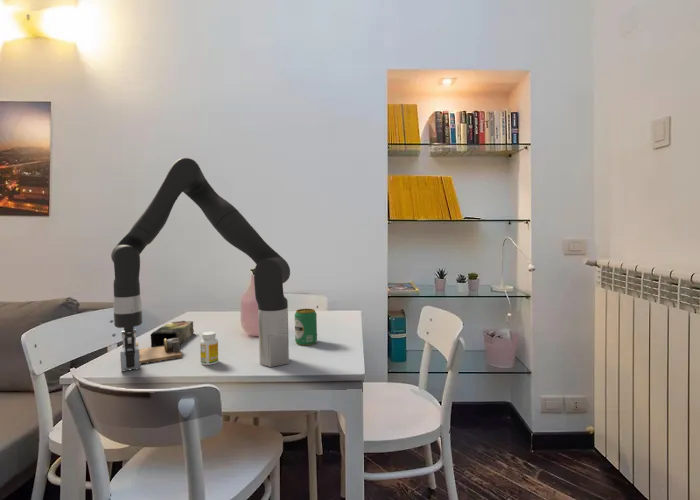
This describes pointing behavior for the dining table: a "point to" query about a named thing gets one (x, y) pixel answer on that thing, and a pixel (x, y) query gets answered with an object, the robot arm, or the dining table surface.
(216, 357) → the supplement bottle
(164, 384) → the dining table surface
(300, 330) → the beverage can
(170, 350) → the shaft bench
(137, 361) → the block
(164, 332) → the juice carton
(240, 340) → the dining table surface
